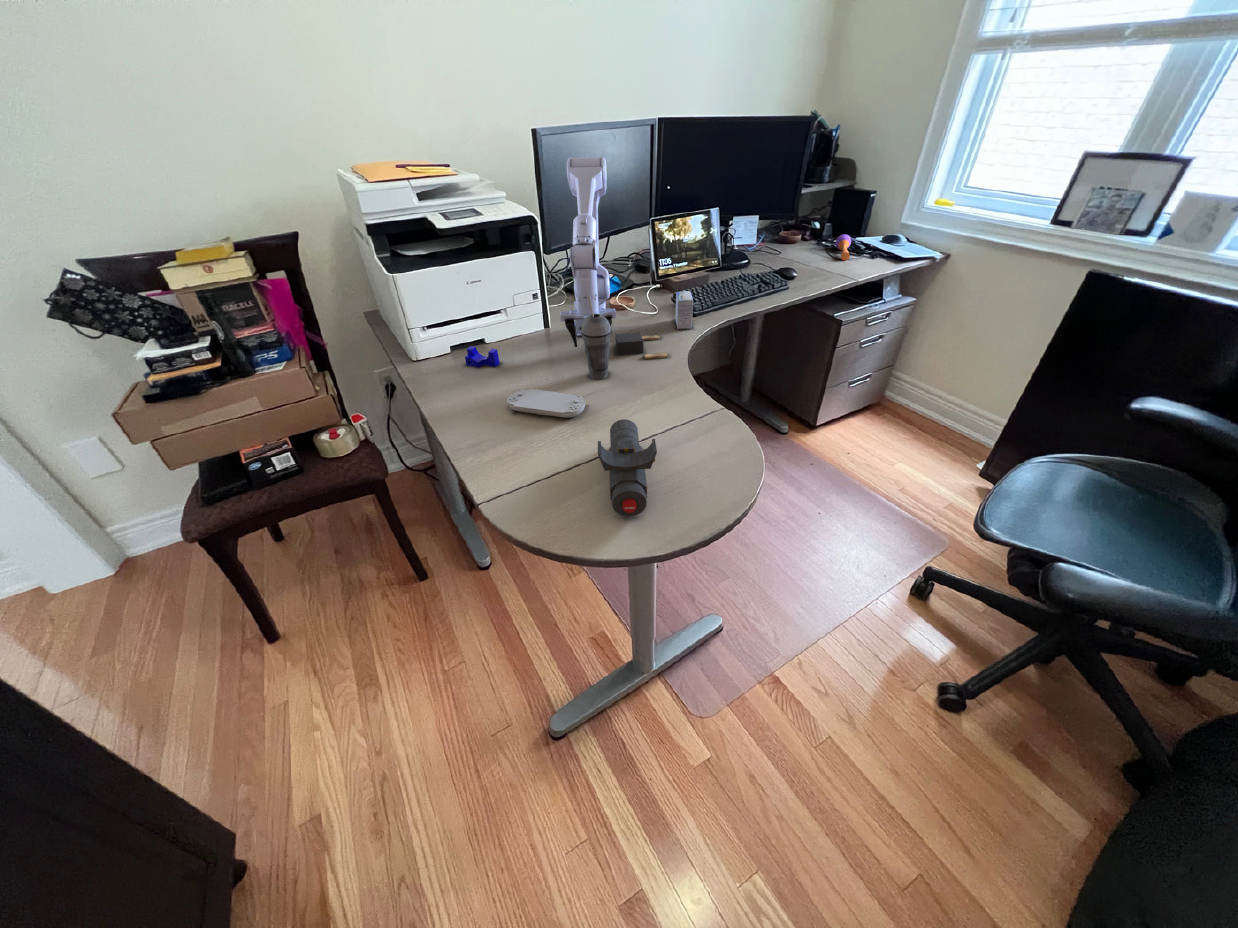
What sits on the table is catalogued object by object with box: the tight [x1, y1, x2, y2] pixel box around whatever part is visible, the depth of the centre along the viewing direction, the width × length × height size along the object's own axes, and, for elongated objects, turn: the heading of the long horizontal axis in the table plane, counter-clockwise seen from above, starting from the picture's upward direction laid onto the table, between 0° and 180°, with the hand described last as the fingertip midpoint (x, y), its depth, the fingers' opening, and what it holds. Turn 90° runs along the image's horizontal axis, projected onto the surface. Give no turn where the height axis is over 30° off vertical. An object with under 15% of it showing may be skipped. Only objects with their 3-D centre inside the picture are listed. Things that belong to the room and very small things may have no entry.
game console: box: [506, 388, 586, 419], centre depth 111 cm, size 18×2×8 cm
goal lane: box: [641, 334, 668, 360], centre depth 136 cm, size 6×14×1 cm, turn 6°
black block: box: [614, 331, 644, 355], centre depth 135 cm, size 7×6×4 cm
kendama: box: [835, 234, 852, 262], centre depth 202 cm, size 6×6×20 cm
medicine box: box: [674, 290, 694, 330], centre depth 146 cm, size 8×4×9 cm, turn 179°
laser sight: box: [597, 418, 658, 517], centre depth 88 cm, size 10×22×10 cm, turn 2°
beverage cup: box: [581, 296, 612, 380], centre depth 118 cm, size 7×7×20 cm
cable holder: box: [464, 345, 501, 368], centre depth 129 cm, size 8×4×4 cm, turn 71°
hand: (589, 344), depth 134 cm, fingers open, 7 cm apart
